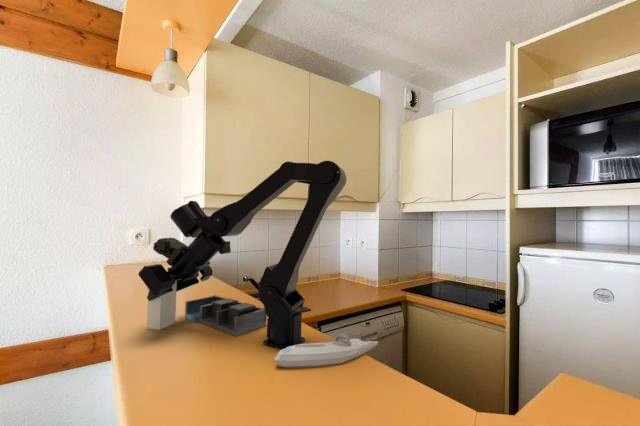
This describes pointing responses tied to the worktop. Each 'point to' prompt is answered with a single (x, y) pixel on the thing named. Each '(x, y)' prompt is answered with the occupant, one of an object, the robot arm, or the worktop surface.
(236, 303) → the rack
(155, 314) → the white rectangular block
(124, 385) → the worktop surface
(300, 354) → the white toy boat
